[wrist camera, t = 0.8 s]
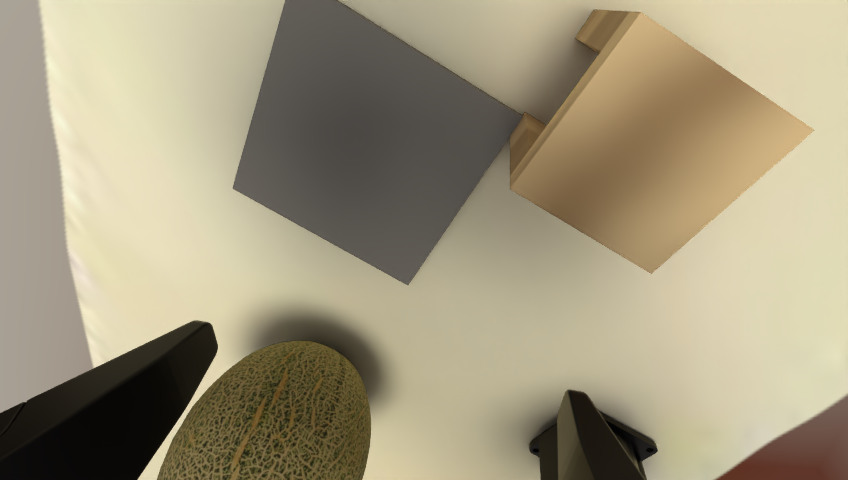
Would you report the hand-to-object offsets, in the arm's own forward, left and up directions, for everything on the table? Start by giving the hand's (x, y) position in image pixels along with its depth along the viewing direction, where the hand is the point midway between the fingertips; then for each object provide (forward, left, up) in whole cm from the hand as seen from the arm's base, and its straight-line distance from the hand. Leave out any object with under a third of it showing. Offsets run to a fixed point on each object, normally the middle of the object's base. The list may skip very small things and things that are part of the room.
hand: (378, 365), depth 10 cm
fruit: (+1, +19, -14) cm, 23 cm away
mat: (+5, +2, -13) cm, 14 cm away
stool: (-4, -6, -13) cm, 16 cm away
